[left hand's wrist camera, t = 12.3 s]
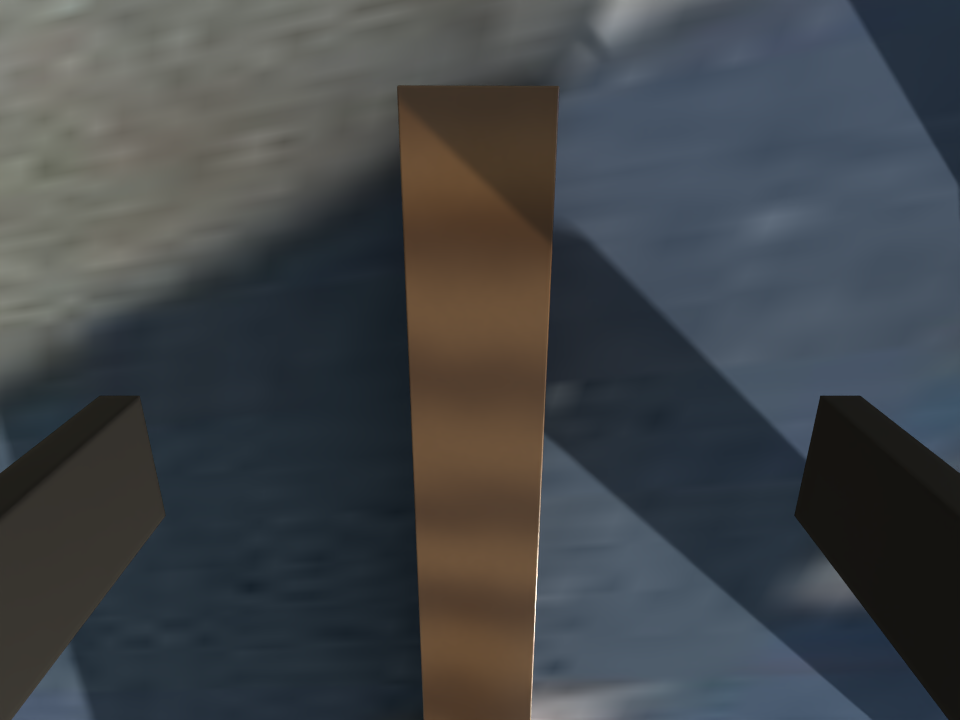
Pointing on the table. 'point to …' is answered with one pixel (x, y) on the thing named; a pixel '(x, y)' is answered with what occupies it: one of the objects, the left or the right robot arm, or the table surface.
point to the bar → (477, 381)
